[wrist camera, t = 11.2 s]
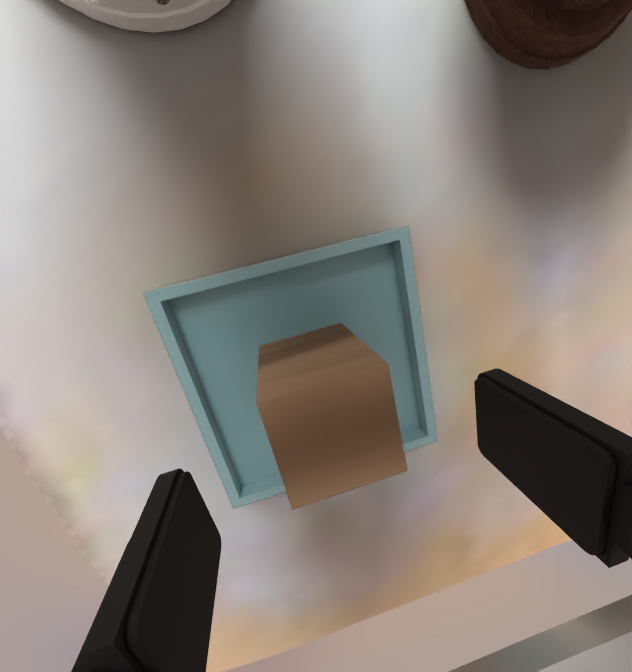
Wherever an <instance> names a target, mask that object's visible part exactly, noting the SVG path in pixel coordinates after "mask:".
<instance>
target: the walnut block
mask: <svg viewBox="0 0 632 672" xmlns="http://www.w3.org/2000/svg"><path fill="white" fill-rule="evenodd" d="M256 404H257V407H258V410H259V413H260V416H261V419H262V422H263V425H264V428H265V430H266V433H267V436H268V439H269V442H270V445H271V448H272V451H273V454H274V457H275V460H276V463H277V466H278V469H279V472H280V474H281V477H282V480H283V483H284V486H285V489H286V492H287V495H288V498H289V501H290V504H291V507H292V510H293V509H296V508H299V507H302V506H305V505H308V504H311V503H314V502H317V501H320V500H323V499H326V498H328V497H331V496H334V495H337V494H340V493H343V492H346V491H349V490H352V489H355V488H358V487H361V486H364V485H367V484H370V483H372V482H375V481H378V480H381V479H384V478H387V477H390V476H393V475H396V474H399V473H402V472H405V471H407V466H406V460H405V454H404V449H403V443H402V438H401V432H400V426H399V421H398V415H397V410H396V404H395V398H394V393H393V387H392V382H391V376H390V370H389V365H388V363H387V362H386V361H385V360H384V359H382V358H381V357H380V356H379V355H378V354H377V353H375V352H374V351H373V350H372V349H371V348H370V347H368V346H367V345H366V344H365V343H364V342H363V341H361V340H360V339H359V338H358V337H357V336H356V335H355V334H353V333H352V332H351V331H350V330H349V329H348V328H346V327H345V326H344V325H343V324H342V323H338V324H335V325H331V326H328V327H324V328H321V329H317V330H313V331H310V332H306V333H303V334H299V335H296V336H292V337H289V338H285V339H281V340H278V341H274V342H271V343H267V344H264V345H260V346H259V359H258V378H257V398H256Z"/></svg>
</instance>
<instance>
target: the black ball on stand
mask: <svg viewBox="0 0 632 672" xmlns="http://www.w3.org/2000/svg"><path fill="white" fill-rule="evenodd" d="M465 2H466V4H467V7H468V9H469V12H470V14H471V17H472V19H473V21H474V23H475V24H476V26H477V28H478V29H479V31H480V32H481V34H482V36H483V37H484V39H485V40H486V41H487V42H488V43H489V44H490V45H491V46H492V47H493V48H494V49H495V51H496V52H497V53H499V54H500V55H502V56H503V57H505V58H506V59H508V60H509V61H511V62H512V63H514V64H517V65H520V66H523V67H526V68H529V69H551V68H555V67H560V66H564V65H566V64H568V63H570V62H572V61H574V60H576V59H578V58H580V57H581V56H583V55H585V54H586V53H588V52H589V51H591V50H593V49H594V48H595V47H597V46H598V45H599V44H600V43H602V42H603V41H604V40H606V39H607V38H608V37H609V36H610V35H611V34H612V33H613V32H614V31H615V30H616V29H617V28H618V26H619V25H620V24H621V23H622V22H623V21H624V20H625V18H626V17H627V15H628V14H629V12H630V11H631V9H632V0H465Z"/></svg>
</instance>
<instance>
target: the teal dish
mask: <svg viewBox="0 0 632 672" xmlns="http://www.w3.org/2000/svg"><path fill="white" fill-rule="evenodd" d="M143 294H144V296H145V299H146V301H147V304H148V306H149V308H150V311H151V313H152V316H153V318H154V320H155V323H156V325H157V328H158V330H159V332H160V335H161V337H162V339H163V342H164V344H165V347H166V349H167V351H168V354H169V356H170V359H171V361H172V363H173V366H174V368H175V371H176V373H177V375H178V378H179V380H180V382H181V385H182V387H183V390H184V392H185V394H186V397H187V399H188V402H189V404H190V406H191V409H192V411H193V414H194V416H195V418H196V421H197V423H198V425H199V428H200V430H201V433H202V435H203V437H204V440H205V442H206V445H207V447H208V449H209V452H210V454H211V456H212V459H213V461H214V464H215V466H216V468H217V471H218V473H219V476H220V478H221V480H222V483H223V485H224V488H225V490H226V492H227V495H228V497H229V499H230V502H231V504H232V507H233V509H235V508H238V507H241V506H244V505H247V504H250V503H253V502H256V501H259V500H262V499H265V498H268V497H271V496H274V495H277V494H280V493H283V492H286V489H285V486H284V483H283V480H282V477H281V474H280V472H279V469H278V466H277V463H276V460H275V457H274V454H273V451H272V448H271V445H270V442H269V439H268V436H267V433H266V430H265V428H264V425H263V422H262V419H261V416H260V413H259V410H258V407H257V404H256V398H257V378H258V359H259V346H260V345H264V344H267V343H271V342H274V341H278V340H281V339H285V338H289V337H292V336H296V335H299V334H303V333H306V332H310V331H313V330H317V329H321V328H324V327H328V326H331V325H335V324H338V323H342V324H343V325H344V326H345V327H346V328H348V329H349V330H350V331H351V332H352V333H353V334H355V335H356V336H357V337H358V338H359V339H360V340H361V341H363V342H364V343H365V344H366V345H367V346H368V347H370V348H371V349H372V350H373V351H374V352H375V353H377V354H378V355H379V356H380V357H381V358H382V359H384V360H385V361H386V362H387V363H388V365H389V370H390V376H391V382H392V387H393V393H394V398H395V404H396V410H397V415H398V421H399V426H400V432H401V438H402V443H403V449H404V452H406V451H409V450H412V449H415V448H418V447H421V446H424V445H427V444H430V443H433V442H435V441H438V440H437V432H436V425H435V417H434V410H433V403H432V395H431V388H430V380H429V373H428V366H427V358H426V351H425V343H424V336H423V329H422V321H421V314H420V306H419V299H418V292H417V284H416V277H415V269H414V262H413V255H412V247H411V240H410V232H409V226H404V227H400V228H395V229H391V230H387V231H383V232H379V233H375V234H371V235H367V236H363V237H359V238H355V239H351V240H347V241H343V242H339V243H335V244H331V245H327V246H324V247H320V248H316V249H312V250H308V251H304V252H300V253H296V254H292V255H288V256H284V257H280V258H276V259H272V260H268V261H264V262H260V263H256V264H252V265H248V266H245V267H241V268H237V269H233V270H229V271H225V272H221V273H217V274H213V275H209V276H205V277H201V278H197V279H193V280H189V281H185V282H181V283H177V284H173V285H169V286H165V287H162V288H158V289H154V290H151V291H148V292H144V293H143Z"/></svg>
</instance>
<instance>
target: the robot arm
mask: <svg viewBox="0 0 632 672" xmlns="http://www.w3.org/2000/svg"><path fill="white" fill-rule="evenodd" d="M59 1H61V2H62V3H64V4H66V5H67V6H69V7H71V8H73V9H75V10H77V11H79V12H81V13H83V14H84V15H86V16H88V17H90V18H92V19H94V20H97V21H100V22H103V23H106V24H109V25H112V26H116V27H119V28H122V29H126V30H135V31H144V32H152V33H154V32H163V31H173V30H181V29H183V28H186V27H189V26H192V25H194V24H197V23H200V22H203V21H205V20H207V19H208V18H210V17H211V16H212V15H214V14H215V13H217V12H218V11H220V10H221V9H223V8H224V7H226V6H227V5H228V4H229V3H230V2H231V0H59ZM164 3H167V4H165V5H163V4H164ZM474 385H475V403H476V421H477V439H478V447H479V450H480V452H481V453H482V455H483V456H484V457H485V458H486V459H487V460H488V461H490V462H491V463H492V464H493V465H494V466H495V467H496V468H497V469H498V470H499V471H500V472H501V473H502V474H503V475H504V476H505V477H507V478H508V479H509V480H510V481H511V482H512V483H513V484H514V485H515V486H516V487H517V488H518V489H519V490H520V491H521V492H522V493H523V494H525V495H526V496H527V497H528V498H529V499H530V500H531V501H532V502H533V503H534V504H535V505H536V506H537V507H538V508H539V509H540V510H542V511H543V512H544V513H545V514H546V515H547V516H548V517H549V518H550V519H551V520H552V521H553V522H554V523H555V524H556V525H557V526H559V527H560V528H561V529H562V530H563V531H564V532H565V533H566V534H567V535H568V536H569V537H570V538H571V539H572V540H573V541H574V542H576V543H577V544H578V545H579V546H580V547H581V548H582V549H583V550H584V551H586V552H587V553H589V554H590V555H596V556H597V557H598V558H599V559H600V560H601V561H602V562H603V563H604V564H606V565H607V566H608V567H609V568H610V567H612V566H615V565H618V564H620V563H622V562H625V561H627V560H628V559H629V557H630V558H631V559H632V437H630V436H628V435H626V434H625V433H623V432H621V431H619V430H617V429H615V428H613V427H611V426H609V425H607V424H605V423H603V422H601V421H599V420H597V419H596V418H594V417H592V416H590V415H588V414H586V413H584V412H582V411H580V410H578V409H576V408H574V407H572V406H570V405H568V404H567V403H565V402H563V401H561V400H559V399H557V398H555V397H553V396H551V395H549V394H547V393H545V392H543V391H541V390H539V389H538V388H536V387H534V386H532V385H530V384H528V383H526V382H524V381H522V380H520V379H518V378H516V377H514V376H512V375H510V374H509V373H507V372H505V371H503V370H501V369H493V370H489V371H486V372H483V373H480V374H479V375H478V379H477V380H475V384H474ZM220 553H221V537H220V534H219V531H218V529H217V527H216V525H215V523H214V521H213V519H212V517H211V515H210V513H209V511H208V509H207V507H206V505H205V502H204V500H203V498H202V496H201V494H200V492H199V490H198V488H197V486H196V484H195V482H194V480H193V478H192V475H191V474H190V472H184V471H183V470H182V469H177V470H173V471H170V472H167V473H164V474H161V475H159V476H158V478H157V480H156V482H155V484H154V487H153V489H152V491H151V494H150V496H149V498H148V500H147V503H146V505H145V507H144V510H143V512H142V514H141V516H140V519H139V521H138V523H137V526H136V528H135V530H134V532H133V535H132V537H131V539H130V541H129V542H128V544H127V546H126V549H125V551H124V553H123V556H122V558H121V560H120V562H119V565H118V567H117V569H116V571H115V574H114V576H113V578H112V581H111V583H110V585H109V587H108V590H107V592H106V594H105V596H104V599H103V601H102V603H101V605H100V608H99V610H98V612H97V615H96V617H95V619H94V622H93V624H92V626H91V628H90V631H89V633H88V635H87V637H86V640H85V642H84V644H83V646H82V649H81V651H80V653H79V655H78V658H77V660H76V662H75V665H74V667H73V669H72V671H71V672H206V664H207V656H208V648H209V640H210V632H211V624H212V616H213V608H214V600H215V593H216V585H217V577H218V569H219V561H220ZM450 672H632V595H630V596H628V597H626V598H623V599H621V600H618V601H616V602H614V603H611V604H609V605H606V606H604V607H602V608H599V609H597V610H594V611H592V612H590V613H587V614H585V615H582V616H580V617H578V618H575V619H573V620H570V621H568V622H565V623H563V624H561V625H558V626H556V627H554V628H551V629H549V630H547V631H544V632H542V633H539V634H537V635H534V636H532V637H530V638H527V639H525V640H522V641H520V642H518V643H515V644H513V645H511V646H508V647H506V648H504V649H501V650H499V651H497V652H494V653H492V654H489V655H487V656H485V657H482V658H480V659H478V660H475V661H473V662H471V663H468V664H466V665H463V666H461V667H459V668H457V669H454V670H452V671H450Z"/></svg>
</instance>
